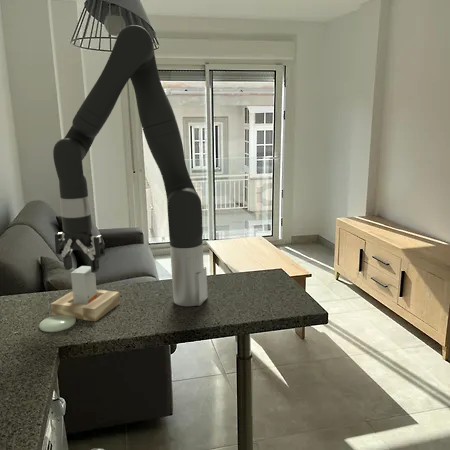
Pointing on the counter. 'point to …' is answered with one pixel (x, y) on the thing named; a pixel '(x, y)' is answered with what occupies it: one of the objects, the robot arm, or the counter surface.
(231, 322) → the counter surface
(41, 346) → the counter surface
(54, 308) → the pocket block
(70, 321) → the coaster
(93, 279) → the skincare box
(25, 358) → the counter surface
